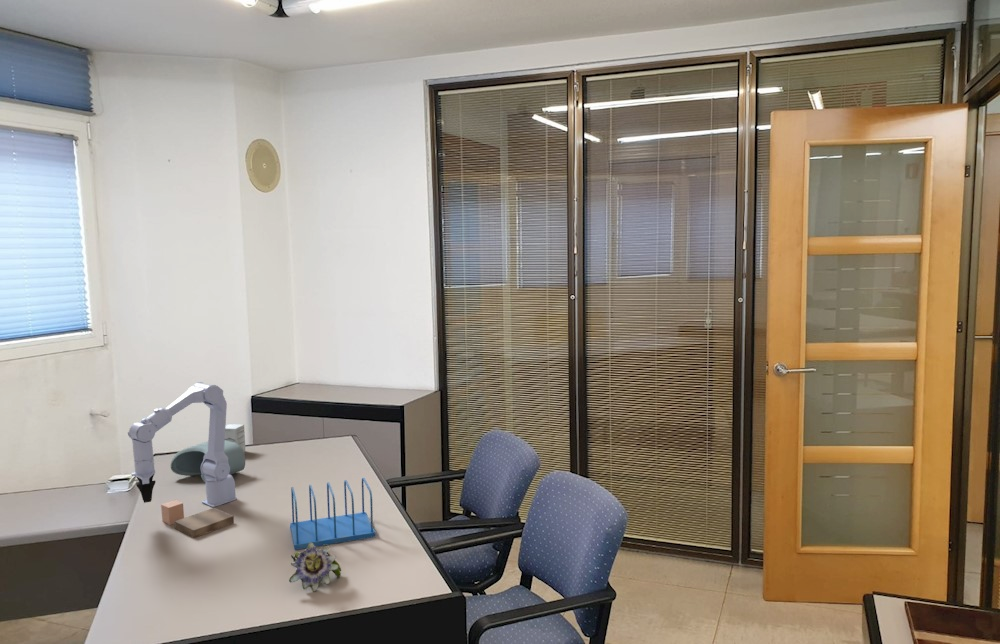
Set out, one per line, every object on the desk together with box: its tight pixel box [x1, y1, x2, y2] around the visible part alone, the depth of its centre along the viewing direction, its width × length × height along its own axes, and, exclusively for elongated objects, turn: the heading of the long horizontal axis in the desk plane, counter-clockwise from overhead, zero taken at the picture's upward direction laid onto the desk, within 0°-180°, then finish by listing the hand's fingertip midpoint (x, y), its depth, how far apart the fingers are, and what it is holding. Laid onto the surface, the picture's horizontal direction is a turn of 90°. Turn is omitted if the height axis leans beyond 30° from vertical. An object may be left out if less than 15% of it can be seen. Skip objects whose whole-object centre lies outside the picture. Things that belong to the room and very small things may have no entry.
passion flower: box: [288, 542, 342, 593], centre depth 193 cm, size 13×12×14 cm
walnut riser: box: [174, 507, 235, 539], centre depth 232 cm, size 14×12×2 cm
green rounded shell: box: [170, 440, 246, 483], centre depth 278 cm, size 22×19×13 cm
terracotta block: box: [160, 499, 185, 526], centre depth 236 cm, size 5×5×6 cm
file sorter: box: [289, 477, 377, 551], centre depth 224 cm, size 25×17×15 cm
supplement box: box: [225, 423, 246, 453], centre depth 307 cm, size 7×7×13 cm
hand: (147, 498), depth 231 cm, fingers open, 7 cm apart
